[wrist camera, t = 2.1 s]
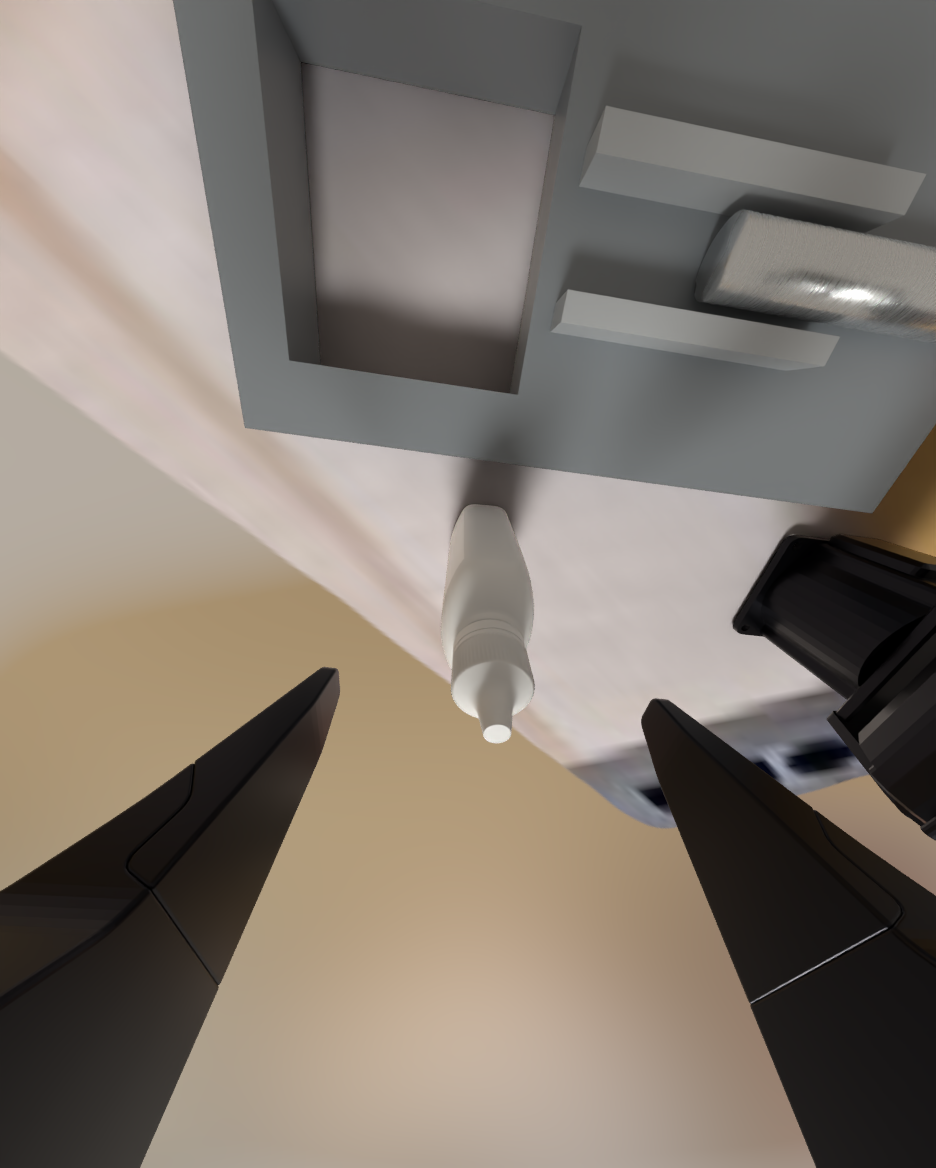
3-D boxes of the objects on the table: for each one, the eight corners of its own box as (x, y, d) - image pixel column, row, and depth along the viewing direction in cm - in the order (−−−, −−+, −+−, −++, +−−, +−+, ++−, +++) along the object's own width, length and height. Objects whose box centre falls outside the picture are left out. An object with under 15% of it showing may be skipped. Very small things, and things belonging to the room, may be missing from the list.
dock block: (810, 497, 18) (911, 523, 14) (282, 424, 16) (220, 429, 12) (1051, 102, 11) (1369, -65, 7) (219, -93, 9) (42, -456, 6)
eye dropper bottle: (420, 568, 19) (366, 761, 9) (476, 487, 17) (495, 614, 7) (481, 604, 21) (498, 813, 10) (540, 533, 18) (643, 702, 8)
